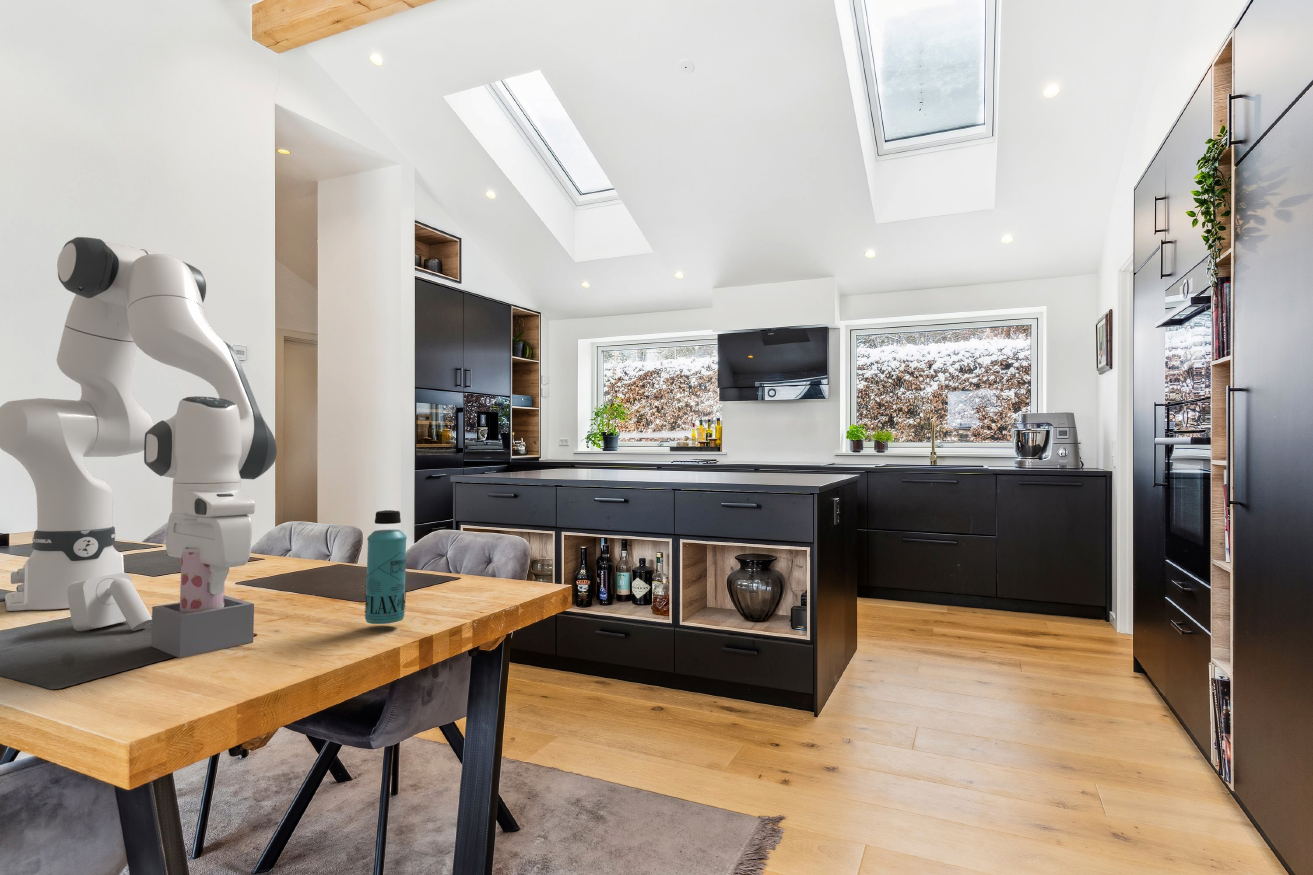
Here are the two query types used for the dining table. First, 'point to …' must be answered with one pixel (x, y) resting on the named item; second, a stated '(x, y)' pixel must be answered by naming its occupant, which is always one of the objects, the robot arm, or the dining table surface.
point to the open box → (202, 628)
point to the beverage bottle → (386, 572)
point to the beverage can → (196, 585)
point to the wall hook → (106, 603)
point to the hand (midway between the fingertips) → (204, 590)
